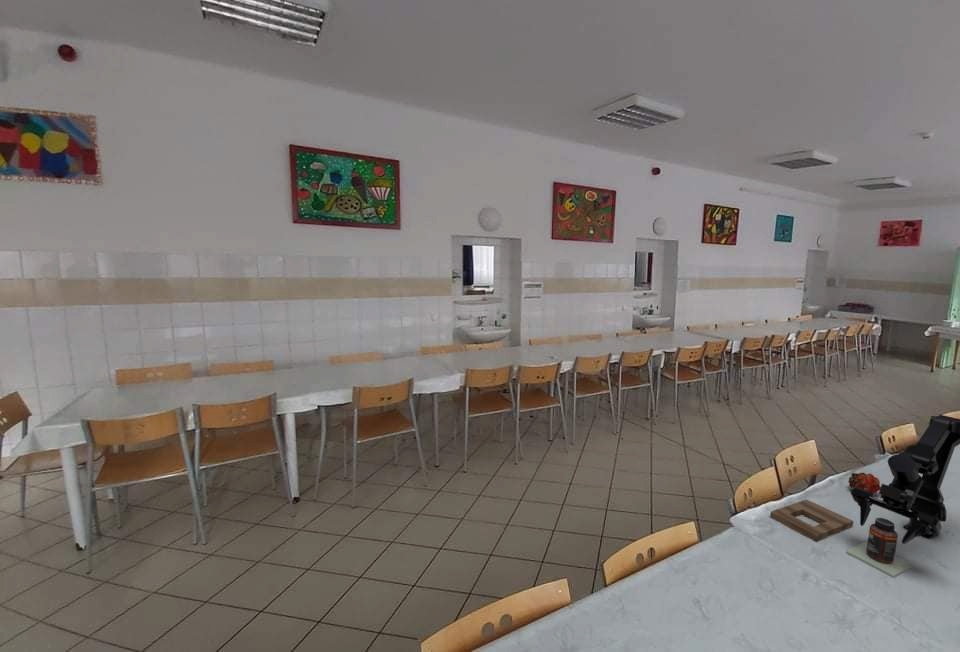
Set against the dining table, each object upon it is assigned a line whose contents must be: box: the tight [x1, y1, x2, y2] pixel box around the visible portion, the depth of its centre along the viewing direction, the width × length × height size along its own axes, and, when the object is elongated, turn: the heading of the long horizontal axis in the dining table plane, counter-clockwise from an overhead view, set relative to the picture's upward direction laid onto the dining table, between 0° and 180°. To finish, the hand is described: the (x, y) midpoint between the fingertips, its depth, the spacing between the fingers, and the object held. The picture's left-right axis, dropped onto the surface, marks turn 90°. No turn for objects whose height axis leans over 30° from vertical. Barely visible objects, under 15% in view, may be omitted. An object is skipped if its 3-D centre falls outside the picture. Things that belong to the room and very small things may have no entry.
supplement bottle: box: [866, 517, 899, 563], centre depth 123 cm, size 6×6×11 cm
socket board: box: [769, 499, 854, 543], centre depth 142 cm, size 20×14×2 cm
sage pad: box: [845, 541, 915, 578], centre depth 124 cm, size 11×11×1 cm
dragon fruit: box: [847, 472, 881, 497], centre depth 160 cm, size 8×8×12 cm
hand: (881, 533), depth 122 cm, fingers open, 9 cm apart
